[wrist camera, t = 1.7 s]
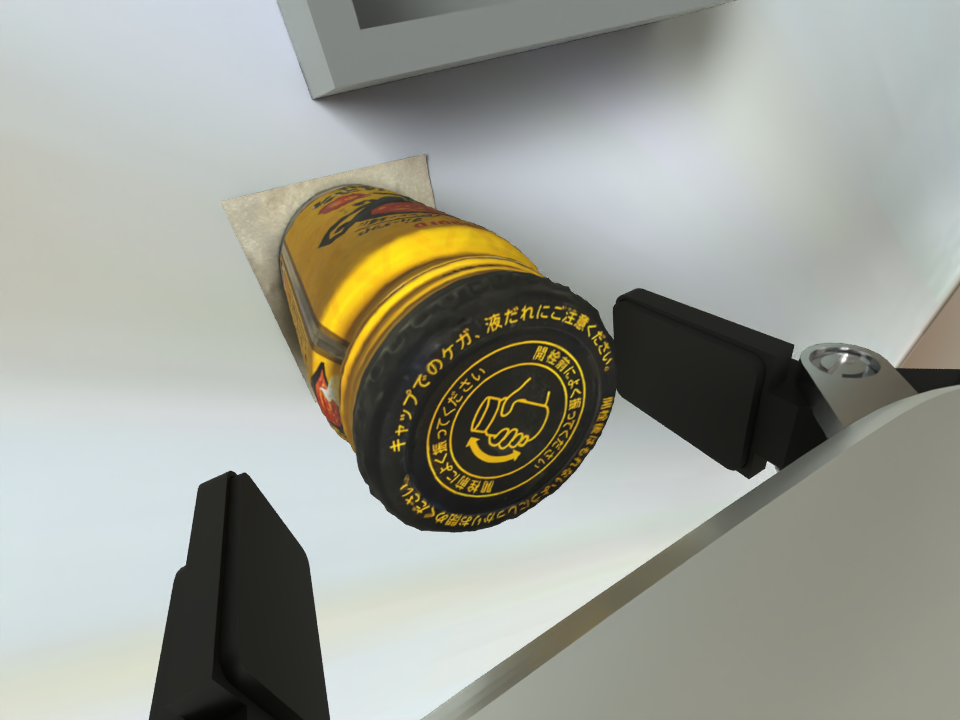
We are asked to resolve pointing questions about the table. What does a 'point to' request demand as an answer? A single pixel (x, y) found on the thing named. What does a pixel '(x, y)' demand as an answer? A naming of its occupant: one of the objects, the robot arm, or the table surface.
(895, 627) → the robot arm
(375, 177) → the condiment
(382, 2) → the box
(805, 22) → the table surface
